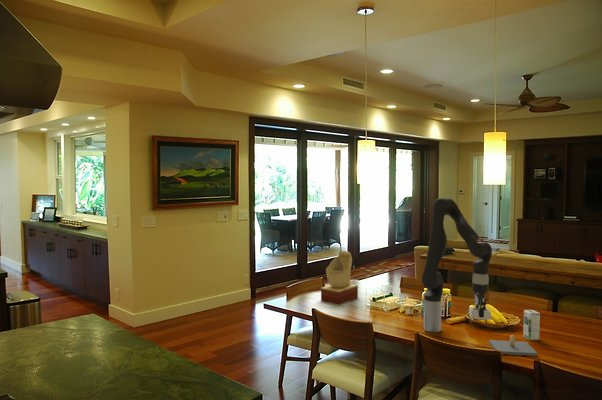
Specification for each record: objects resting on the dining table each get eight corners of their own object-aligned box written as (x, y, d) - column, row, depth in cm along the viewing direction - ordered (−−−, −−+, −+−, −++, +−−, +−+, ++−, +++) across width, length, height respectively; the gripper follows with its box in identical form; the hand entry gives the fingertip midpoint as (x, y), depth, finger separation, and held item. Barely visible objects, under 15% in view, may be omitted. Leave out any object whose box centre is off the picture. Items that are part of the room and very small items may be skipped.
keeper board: (497, 354, 206) (497, 339, 206) (488, 342, 221) (489, 329, 221) (537, 356, 204) (537, 341, 203) (526, 344, 218) (526, 331, 218)
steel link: (471, 318, 213) (471, 310, 213) (468, 315, 219) (469, 307, 219) (490, 319, 212) (490, 311, 212) (487, 316, 218) (487, 308, 218)
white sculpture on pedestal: (340, 293, 325) (340, 247, 324) (360, 297, 314) (360, 250, 313) (320, 300, 307) (320, 251, 305) (341, 304, 295) (340, 254, 294)
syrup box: (522, 336, 230) (523, 309, 230) (533, 336, 231) (533, 309, 230) (529, 340, 225) (529, 313, 224) (540, 339, 225) (540, 312, 225)
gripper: (469, 278, 222) (468, 310, 223) (475, 285, 208) (475, 319, 209) (484, 279, 221) (483, 311, 222) (492, 285, 207) (491, 320, 208)
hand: (479, 315), depth 215 cm, fingers closed on steel link, 6 cm apart
